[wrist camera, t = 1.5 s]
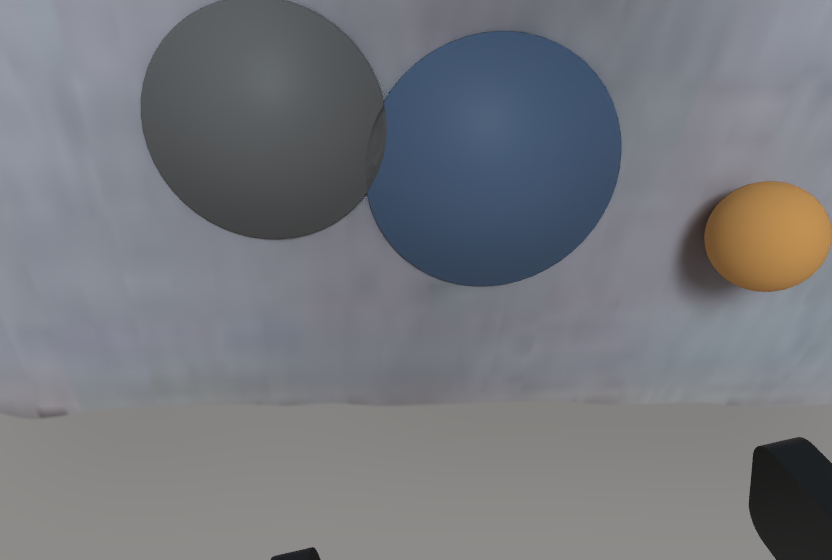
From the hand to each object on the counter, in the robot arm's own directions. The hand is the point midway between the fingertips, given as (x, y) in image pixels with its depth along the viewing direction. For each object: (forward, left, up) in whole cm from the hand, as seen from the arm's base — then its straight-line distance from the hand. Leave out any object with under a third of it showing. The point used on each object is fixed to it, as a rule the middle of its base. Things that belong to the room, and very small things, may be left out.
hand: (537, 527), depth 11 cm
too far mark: (+5, -6, -24) cm, 25 cm away
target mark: (-3, +3, -24) cm, 24 cm away
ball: (-13, +15, -21) cm, 28 cm away
